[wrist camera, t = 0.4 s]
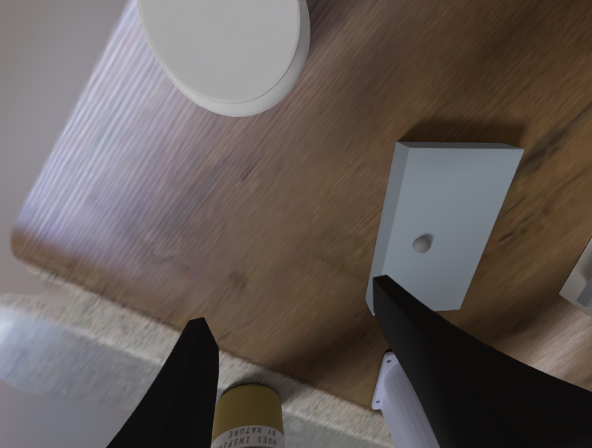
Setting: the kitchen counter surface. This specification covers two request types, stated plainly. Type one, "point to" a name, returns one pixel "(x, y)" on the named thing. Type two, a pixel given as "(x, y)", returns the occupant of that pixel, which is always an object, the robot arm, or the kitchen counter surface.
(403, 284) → the door
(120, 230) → the kitchen counter surface
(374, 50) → the kitchen counter surface
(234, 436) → the paper tube
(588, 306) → the side panel
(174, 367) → the robot arm
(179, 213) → the kitchen counter surface
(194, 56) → the supplement bottle
